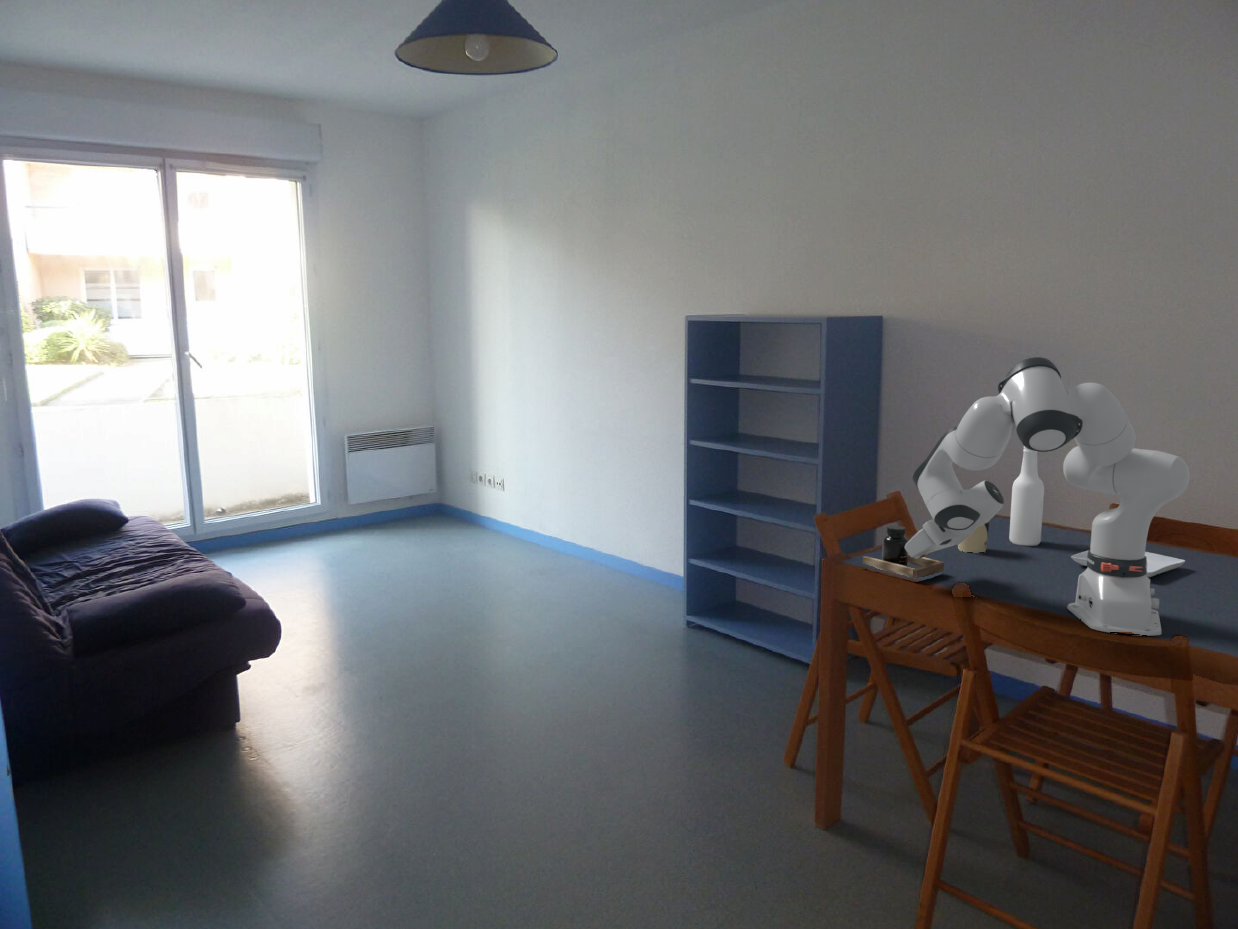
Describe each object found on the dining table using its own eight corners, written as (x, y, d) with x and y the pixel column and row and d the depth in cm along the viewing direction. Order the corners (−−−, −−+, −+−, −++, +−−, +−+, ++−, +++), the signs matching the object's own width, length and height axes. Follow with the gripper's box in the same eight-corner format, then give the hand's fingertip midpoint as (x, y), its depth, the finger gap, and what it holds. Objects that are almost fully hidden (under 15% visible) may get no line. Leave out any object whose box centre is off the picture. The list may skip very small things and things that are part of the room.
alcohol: (1003, 539, 271) (1009, 444, 266) (1031, 538, 271) (1037, 443, 266) (1017, 546, 262) (1024, 448, 257) (1046, 546, 263) (1053, 447, 258)
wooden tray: (943, 574, 235) (944, 562, 235) (916, 583, 228) (916, 570, 227) (889, 561, 249) (890, 549, 248) (862, 569, 241) (862, 556, 241)
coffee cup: (992, 554, 254) (994, 514, 252) (958, 553, 256) (960, 513, 254) (984, 546, 263) (986, 507, 261) (951, 545, 265) (953, 507, 263)
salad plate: (1105, 554, 254) (1106, 543, 253) (1186, 571, 237) (1187, 558, 236) (1068, 567, 242) (1068, 555, 241) (1149, 585, 225) (1151, 572, 224)
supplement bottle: (907, 574, 236) (909, 531, 234) (881, 572, 238) (882, 529, 236) (907, 567, 242) (909, 525, 240) (882, 565, 245) (883, 524, 243)
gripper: (966, 511, 232) (932, 540, 241) (921, 523, 220) (887, 552, 229) (981, 531, 229) (946, 559, 239) (936, 543, 217) (901, 573, 226)
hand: (917, 556), depth 234 cm, fingers closed
